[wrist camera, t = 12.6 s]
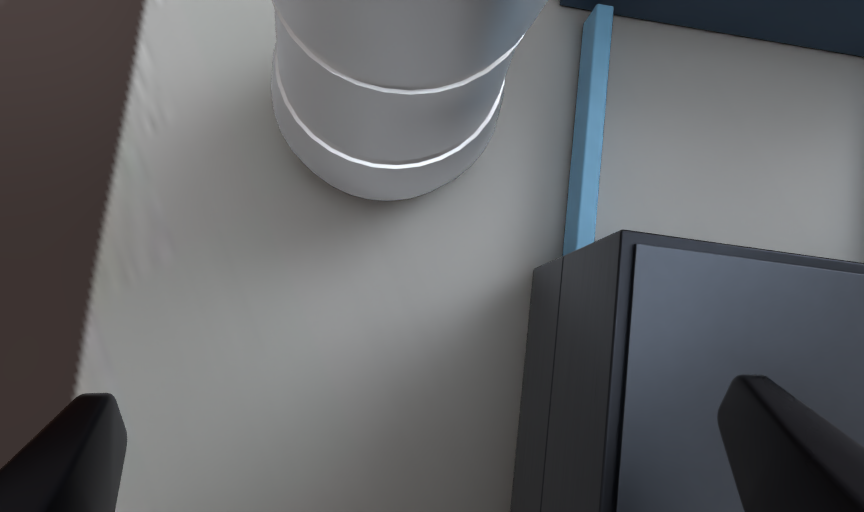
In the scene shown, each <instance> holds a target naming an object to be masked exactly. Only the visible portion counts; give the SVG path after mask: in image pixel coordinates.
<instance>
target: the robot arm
mask: <svg viewBox="0 0 864 512" xmlns="http://www.w3.org/2000/svg"><path fill="white" fill-rule="evenodd" d="M717 422H718V427H719V430H720V434H721V437H722V440H723V443H724V447H725V450H726V453H727V457H728V460H729V463H730V466H731V470H732V473H733V476H734V480H735V483H736V486H737V490H738V493H739V496H740V499H741V503H742V506H743V509H744V512H864V447H863V446H862V445H860V444H859V443H857V442H856V441H855V440H853V439H852V438H851V437H849V436H848V435H847V434H845V433H844V432H842V431H841V430H840V429H838V428H837V427H836V426H834V425H833V424H831V423H830V422H829V421H827V420H826V419H825V418H823V417H822V416H821V415H819V414H818V413H816V412H815V411H814V410H812V409H811V408H810V407H808V406H807V405H806V404H804V403H803V402H801V401H800V400H799V399H797V398H796V397H795V396H793V395H792V394H791V393H789V392H788V391H786V390H785V389H784V388H782V387H781V386H780V385H778V384H777V383H775V382H774V381H773V380H771V379H770V378H768V377H767V376H765V375H761V374H745V375H737V376H736V377H735V378H733V380H732V381H731V383H730V386H729V388H728V390H727V392H726V394H725V396H724V398H723V400H722V402H721V404H720V406H719V409H718V413H717ZM126 447H127V432H126V428H125V425H124V422H123V419H122V416H121V413H120V410H119V407H118V404H117V401H116V399H115V397H114V396H113V395H112V394H110V393H87V394H82V395H79V396H78V397H76V398H75V399H74V400H73V401H72V402H71V403H70V404H69V405H68V406H66V407H65V408H64V410H62V411H61V412H60V413H59V414H58V415H57V416H56V417H55V418H54V419H53V420H52V421H51V422H50V423H49V424H48V425H46V426H45V427H44V429H42V430H41V431H40V432H39V433H38V434H37V435H36V436H35V437H34V438H33V439H32V440H31V441H30V442H29V443H28V444H27V445H26V446H25V447H23V448H22V449H21V450H20V451H19V452H18V453H17V454H16V455H15V456H14V457H13V458H12V459H11V460H10V461H9V462H8V463H7V464H6V465H5V466H3V467H2V468H1V469H0V512H115V508H116V502H117V497H118V491H119V486H120V480H121V475H122V469H123V464H124V459H125V453H126Z"/></svg>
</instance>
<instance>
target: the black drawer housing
mask: <svg viewBox="0 0 864 512" xmlns="http://www.w3.org/2000/svg"><path fill="white" fill-rule="evenodd" d="M745 374H761V375H765V376H767V377H768V378H770V379H771V380H773V381H774V382H775V383H777V384H778V385H780V386H781V387H782V388H784V389H785V390H786V391H788V392H789V393H791V394H792V395H793V396H795V397H796V398H797V399H799V400H800V401H801V402H803V403H804V404H806V405H807V406H808V407H810V408H811V409H812V410H814V411H815V412H816V413H818V414H819V415H821V416H822V417H823V418H825V419H826V420H827V421H829V422H830V423H831V424H833V425H834V426H836V427H837V428H838V429H840V430H841V431H842V432H844V433H845V434H847V435H848V436H849V437H851V438H852V439H853V440H855V441H856V442H857V443H859V444H860V445H862V446H863V447H864V263H858V262H851V261H844V260H837V259H829V258H822V257H815V256H808V255H801V254H794V253H787V252H780V251H772V250H765V249H758V248H751V247H744V246H737V245H730V244H722V243H715V242H708V241H701V240H694V239H687V238H680V237H672V236H665V235H658V234H651V233H644V232H637V231H630V230H620V231H618V232H616V233H613V234H611V235H609V236H607V237H604V238H602V239H600V240H598V241H595V242H593V243H591V244H589V245H586V246H584V247H582V248H580V249H577V250H575V251H573V252H571V253H568V254H566V255H564V256H562V257H560V258H558V259H555V260H553V261H551V262H549V263H546V264H544V265H542V266H540V267H537V268H535V269H534V271H533V282H532V292H531V303H530V313H529V324H528V334H527V344H526V355H525V365H524V376H523V386H522V396H521V407H520V417H519V428H518V438H517V448H516V459H515V469H514V480H513V490H512V500H511V511H510V512H744V509H743V506H742V503H741V499H740V496H739V493H738V490H737V486H736V483H735V480H734V476H733V473H732V470H731V466H730V463H729V460H728V457H727V453H726V450H725V447H724V443H723V440H722V437H721V434H720V430H719V427H718V422H717V413H718V409H719V406H720V404H721V402H722V400H723V398H724V396H725V394H726V392H727V390H728V388H729V386H730V383H731V381H732V380H733V378H735V377H736V376H737V375H745Z"/></svg>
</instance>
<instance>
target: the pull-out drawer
mask: <svg viewBox="0 0 864 512" xmlns="http://www.w3.org/2000/svg"><path fill="white" fill-rule="evenodd" d="M560 5H563V6H569V7H575V8H581V9H587V10H593V11H592V12H591V14H590V15H589V17H588V18H587V19H586V21H585V22H584V24H583V35H582V46H581V57H580V68H579V80H578V91H577V102H576V113H575V124H574V135H573V146H572V157H571V169H570V180H569V191H568V202H567V213H566V224H565V235H564V247H563V256H564V255H566V254H568V253H571V252H573V251H575V250H577V249H580V248H582V247H584V246H586V245H589V244H591V243H593V242H594V239H595V227H596V215H597V203H598V191H599V179H600V167H601V155H602V143H603V131H604V119H605V107H606V95H607V83H608V71H609V59H610V47H611V35H612V23H613V14H616V15H622V16H628V17H634V18H640V19H645V20H651V21H657V22H663V23H669V24H675V25H681V26H687V27H692V28H698V29H704V30H710V31H716V32H722V33H728V34H733V35H739V36H745V37H751V38H757V39H763V40H769V41H775V42H780V43H786V44H792V45H798V46H804V47H810V48H816V49H822V50H827V51H833V52H839V53H845V54H851V55H857V56H863V57H864V0H560Z"/></svg>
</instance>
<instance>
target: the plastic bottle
mask: <svg viewBox="0 0 864 512" xmlns="http://www.w3.org/2000/svg"><path fill="white" fill-rule="evenodd" d="M547 1H548V0H272V2H273V5H274V10H275V27H276V44H275V48H274V53H273V63H272V76H271V94H272V103H273V111H274V114H275V117H276V120H277V123H278V126H279V128H280V131H281V133H282V135H283V137H284V138H285V140H286V141H287V143H288V145H289V146H290V148H291V150H292V151H293V152H294V153H295V154H296V156H297V157H298V158H299V159H300V160H301V161H302V162H303V163H304V164H305V165H306V166H307V167H308V168H309V169H310V170H311V171H312V172H313V173H315V174H316V175H317V176H319V177H320V178H321V179H323V180H324V181H325V182H327V183H328V184H330V185H331V186H333V187H335V188H337V189H339V190H341V191H343V192H346V193H348V194H350V195H354V196H358V197H361V198H365V199H370V200H383V201H393V200H402V199H410V198H413V197H416V196H419V195H423V194H426V193H429V192H431V191H433V190H435V189H437V188H439V187H441V186H443V185H445V184H446V183H448V182H450V181H452V180H454V179H456V178H457V177H458V176H459V175H461V174H462V173H463V172H464V171H465V170H467V169H468V168H469V167H470V166H471V165H472V164H473V163H474V162H475V161H476V159H477V158H478V157H479V156H480V154H481V153H482V152H483V151H484V150H485V148H486V146H487V144H488V142H489V140H490V138H491V136H492V134H493V132H494V130H495V126H496V122H497V119H498V115H499V111H500V107H501V103H502V99H503V96H504V84H505V76H506V73H507V71H508V68H509V65H510V62H511V59H512V56H513V54H514V51H515V48H516V47H517V45H518V44H519V42H520V41H521V39H522V38H523V36H524V34H525V32H526V31H527V30H528V29H529V28H530V26H531V25H532V23H533V22H534V20H535V19H536V18H537V16H538V15H539V13H540V12H541V10H542V9H543V7H544V6H545V4H546V3H547Z"/></svg>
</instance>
